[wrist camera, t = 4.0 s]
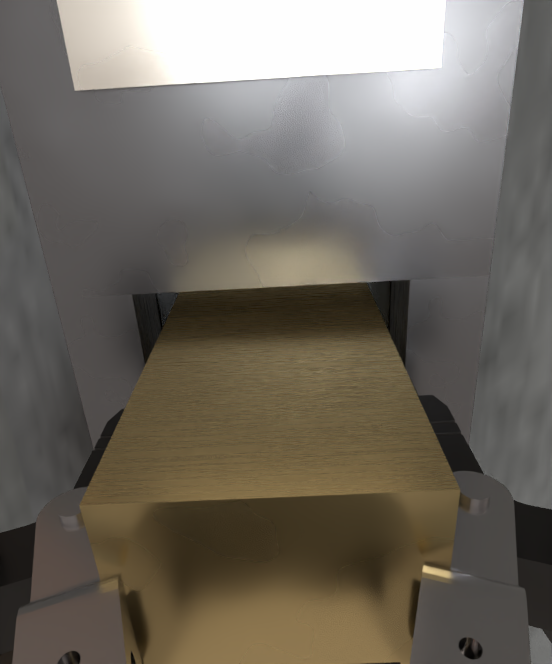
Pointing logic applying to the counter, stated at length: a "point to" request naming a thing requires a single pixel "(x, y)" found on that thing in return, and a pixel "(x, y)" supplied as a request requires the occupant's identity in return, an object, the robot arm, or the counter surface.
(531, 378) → the counter surface
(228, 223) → the grey slotted holder
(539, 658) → the counter surface
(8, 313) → the counter surface
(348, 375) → the yellow wooden block
